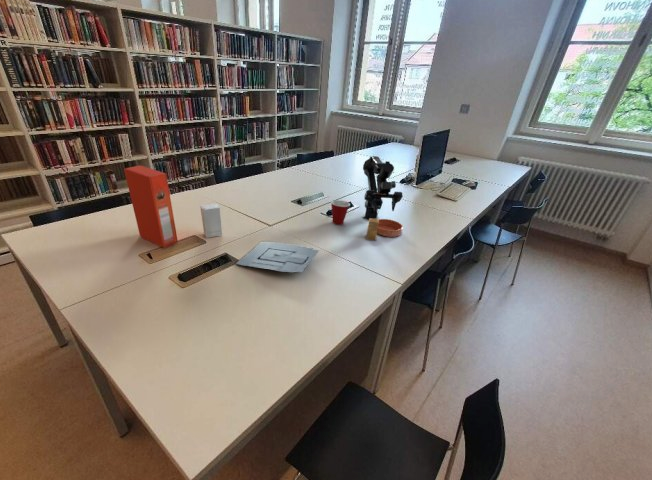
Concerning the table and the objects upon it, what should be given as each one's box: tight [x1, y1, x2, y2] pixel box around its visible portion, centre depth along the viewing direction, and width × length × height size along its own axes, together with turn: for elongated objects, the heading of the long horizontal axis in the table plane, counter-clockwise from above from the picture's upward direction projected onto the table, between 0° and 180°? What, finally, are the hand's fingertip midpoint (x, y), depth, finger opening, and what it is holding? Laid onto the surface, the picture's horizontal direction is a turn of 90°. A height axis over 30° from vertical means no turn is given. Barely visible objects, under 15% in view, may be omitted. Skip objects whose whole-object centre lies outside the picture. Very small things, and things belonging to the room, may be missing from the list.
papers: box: [235, 240, 320, 274], centre depth 140 cm, size 24×30×4 cm
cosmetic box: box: [199, 203, 223, 239], centre depth 154 cm, size 8×6×15 cm
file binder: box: [123, 165, 179, 249], centre depth 142 cm, size 8×17×32 cm, turn 56°
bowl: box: [377, 218, 403, 238], centre depth 174 cm, size 15×15×4 cm
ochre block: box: [365, 218, 380, 241], centre depth 164 cm, size 4×4×10 cm
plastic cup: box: [330, 199, 351, 226], centre depth 177 cm, size 11×11×12 cm
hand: (384, 210), depth 163 cm, fingers open, 9 cm apart
